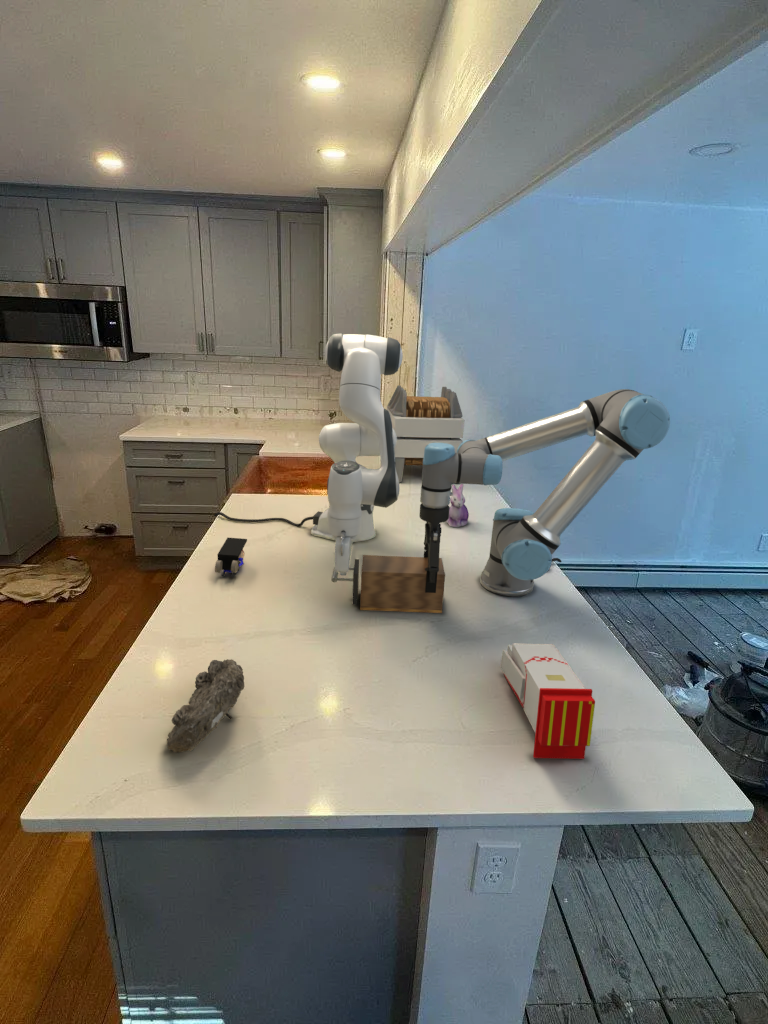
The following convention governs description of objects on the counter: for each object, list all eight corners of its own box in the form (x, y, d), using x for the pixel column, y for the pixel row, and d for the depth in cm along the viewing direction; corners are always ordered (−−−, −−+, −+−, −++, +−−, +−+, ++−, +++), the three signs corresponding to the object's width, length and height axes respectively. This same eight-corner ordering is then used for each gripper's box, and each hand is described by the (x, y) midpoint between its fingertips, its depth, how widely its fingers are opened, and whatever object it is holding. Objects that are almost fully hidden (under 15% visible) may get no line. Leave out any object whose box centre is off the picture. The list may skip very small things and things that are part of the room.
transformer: (382, 463, 289) (386, 382, 275) (445, 464, 293) (451, 384, 279) (390, 482, 257) (394, 392, 243) (460, 483, 261) (468, 394, 247)
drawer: (330, 604, 149) (331, 572, 146) (333, 587, 157) (334, 558, 154) (428, 607, 149) (431, 576, 146) (426, 591, 158) (428, 561, 155)
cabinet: (360, 609, 149) (361, 571, 145) (361, 591, 158) (362, 554, 155) (441, 613, 149) (445, 574, 145) (438, 594, 159) (441, 557, 155)
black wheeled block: (238, 584, 162) (249, 557, 175) (236, 562, 158) (247, 536, 172) (215, 584, 161) (227, 556, 175) (212, 561, 158) (225, 535, 171)
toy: (549, 626, 126) (605, 697, 97) (544, 681, 129) (596, 766, 100) (495, 625, 126) (534, 696, 96) (491, 680, 128) (528, 765, 99)
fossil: (192, 660, 117) (244, 628, 112) (224, 691, 120) (276, 661, 115) (142, 746, 98) (202, 712, 93) (182, 779, 101) (242, 748, 96)
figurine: (454, 529, 206) (457, 490, 201) (439, 520, 214) (442, 482, 209) (475, 526, 210) (479, 487, 205) (459, 517, 218) (463, 479, 213)
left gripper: (354, 540, 136) (353, 591, 141) (358, 512, 155) (357, 558, 160) (328, 539, 136) (328, 590, 141) (335, 511, 155) (334, 557, 160)
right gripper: (454, 520, 133) (447, 603, 141) (445, 491, 155) (439, 564, 162) (423, 519, 133) (417, 602, 141) (417, 489, 155) (412, 563, 162)
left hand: (343, 573), depth 151 cm, fingers closed
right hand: (428, 582), depth 152 cm, fingers closed on cabinet, 10 cm apart
